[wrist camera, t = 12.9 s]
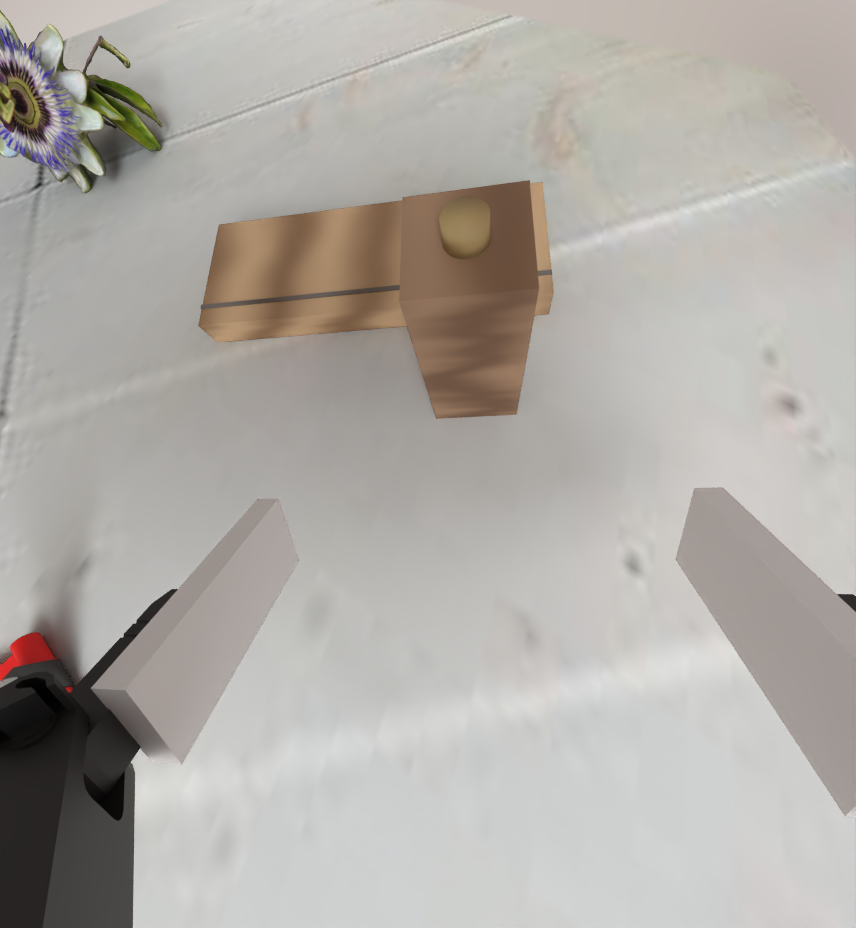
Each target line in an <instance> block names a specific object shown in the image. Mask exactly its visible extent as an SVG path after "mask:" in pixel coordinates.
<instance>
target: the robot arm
mask: <svg viewBox="0 0 856 928" xmlns="http://www.w3.org/2000/svg"><path fill="white" fill-rule="evenodd" d="M298 561H299V559H298V556H297V553H296V550H295V547H294V544H293V541H292V538H291V535H290V532H289V529H288V526H287V523H286V520H285V517H284V514H283V511H282V508H281V505H280V502H279V499H257V501H256V502H255V503H254V504H253V505H252V506H251V507H250V508H249V510H248V511H247V512H246V513H245V514H244V515H243V516H242V518H241V519H240V520H239V521H238V522H237V523H236V524H235V525H234V527H233V528H232V529H231V530H230V531H229V532H228V533H227V535H226V536H225V537H224V538H223V539H222V540H221V541H220V542H219V544H218V545H217V546H216V547H215V548H214V549H213V550H212V552H211V553H210V554H209V555H208V556H207V557H206V558H205V559H204V561H203V562H202V563H201V564H200V565H199V566H198V567H197V568H196V570H195V571H194V572H193V573H192V574H191V575H190V576H189V578H188V579H187V580H186V581H185V582H184V583H183V584H182V585H181V587H180V588H179V589H172V590H170V591H169V592H167V593H166V594H165V595H163V596H162V597H160V598H159V599H158V600H156V601H155V602H154V603H152V604H151V605H150V606H149V607H148V609H147V610H146V611H145V612H144V613H143V614H142V615H141V616H140V617H139V618H138V619H137V623H136V624H133V625H132V626H131V627H130V628H129V629H128V630H127V631H126V632H125V633H124V637H123V638H120V639H119V640H118V641H117V642H116V643H115V644H114V645H113V646H112V648H111V649H110V650H109V651H108V652H107V653H106V654H105V655H104V656H103V657H102V658H101V660H100V661H99V662H98V663H97V664H96V665H95V666H94V667H93V668H92V669H91V670H90V671H89V673H88V674H87V675H86V676H85V677H84V678H83V679H82V680H81V681H80V682H79V683H78V684H77V686H76V687H75V688H74V689H73V690H72V691H71V692H70V693H69V692H68V691H67V690H66V689H65V688H64V686H63V685H62V684H61V683H60V682H59V681H58V680H57V678H56V677H55V676H54V675H52V674H50V673H49V672H34V673H31V674H28V675H25V676H23V677H20V678H17V679H16V680H14V681H12V682H10V683H8V684H6V685H5V686H3V687H1V688H0V928H133V870H134V802H135V772H134V768H133V765H132V764H131V761H132V759H133V758H134V756H135V755H136V753H137V752H138V750H139V749H140V748H141V750H142V751H143V752H144V753H145V754H146V756H147V757H148V758H149V759H150V761H151V762H160V763H172V764H182V763H183V761H184V760H185V758H186V756H187V755H188V753H189V751H190V749H191V748H192V746H193V744H194V742H195V741H196V739H197V737H198V735H199V734H200V732H201V730H202V728H203V727H204V725H205V723H206V721H207V720H208V718H209V716H210V714H211V713H212V711H213V709H214V707H215V706H216V704H217V702H218V700H219V699H220V697H221V695H222V693H223V692H224V690H225V688H226V686H227V685H228V683H229V681H230V679H231V678H232V676H233V674H234V672H235V671H236V669H237V667H238V665H239V664H240V662H241V660H242V659H243V657H244V655H245V653H246V652H247V650H248V648H249V646H250V645H251V643H252V641H253V639H254V638H255V636H256V634H257V632H258V631H259V629H260V627H261V625H262V624H263V622H264V620H265V618H266V617H267V615H268V613H269V611H270V610H271V608H272V606H273V604H274V603H275V601H276V599H277V597H278V596H279V594H280V592H281V590H282V589H283V587H284V585H285V583H286V582H287V580H288V578H289V576H290V575H291V573H292V571H293V569H294V568H295V566H296V564H297V562H298ZM676 561H677V562H678V564H679V566H680V567H681V569H682V570H683V572H684V573H685V575H686V576H687V578H688V579H689V581H690V582H691V584H692V585H693V587H694V588H695V590H696V591H697V593H698V594H699V596H700V597H701V599H702V600H703V602H704V603H705V605H706V606H707V608H708V609H709V611H710V612H711V614H712V615H713V617H714V619H715V620H716V622H717V623H718V625H719V626H720V628H721V629H722V631H723V632H724V634H725V635H726V637H727V638H728V640H729V641H730V643H731V644H732V646H733V647H734V649H735V650H736V652H737V653H738V655H739V656H740V658H741V659H742V661H743V662H744V664H745V665H746V667H747V669H748V670H749V672H750V673H751V675H752V676H753V678H754V679H755V681H756V682H757V684H758V685H759V687H760V688H761V690H762V691H763V693H764V694H765V696H766V697H767V699H768V700H769V702H770V703H771V705H772V706H773V708H774V709H775V711H776V712H777V714H778V715H779V717H780V719H781V720H782V722H783V723H784V725H785V726H786V728H787V729H788V731H789V732H790V734H791V735H792V737H793V738H794V740H795V741H796V743H797V744H798V746H799V747H800V749H801V750H802V752H803V753H804V755H805V756H806V758H807V759H808V761H809V762H810V764H811V765H812V767H813V769H814V770H815V772H816V773H817V775H818V776H819V778H820V779H821V781H822V782H823V784H824V785H825V787H826V788H827V790H828V791H829V793H830V794H831V796H832V797H833V799H834V800H835V802H836V803H837V805H838V806H839V808H840V809H841V811H842V812H843V814H844V815H845V817H856V596H855V595H853V594H836V593H835V592H834V591H833V590H832V589H830V588H829V587H828V586H827V585H826V584H825V583H824V582H823V581H822V580H821V579H820V578H819V577H818V576H817V575H816V574H815V573H813V572H812V571H811V570H810V569H809V568H808V567H807V566H806V565H805V564H804V563H803V562H802V561H801V560H800V559H799V558H797V557H796V556H795V555H794V554H793V553H792V552H791V551H790V550H789V549H788V548H787V547H786V546H785V545H784V544H783V543H781V542H780V541H779V540H778V539H777V538H776V537H775V536H774V535H773V534H772V533H771V532H770V531H769V530H768V529H767V528H765V527H764V526H763V525H762V524H761V523H760V522H759V521H758V520H757V519H756V518H755V517H754V516H753V515H752V514H751V513H749V512H748V511H747V510H746V509H745V508H744V507H743V506H742V505H741V504H740V503H739V502H738V501H737V500H736V499H735V498H733V497H732V496H731V495H730V494H729V493H728V492H727V491H726V490H725V489H724V488H694V492H693V496H692V499H691V503H690V507H689V511H688V514H687V518H686V522H685V526H684V530H683V533H682V537H681V541H680V545H679V548H678V552H677V556H676Z"/></svg>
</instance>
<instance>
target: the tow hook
mask: <svg viewBox="0 0 856 928" xmlns="http://www.w3.org/2000/svg"><path fill="white" fill-rule="evenodd" d="M10 650H11V652H12V653H13V654H12V655H11V656H10V657H9V658H8V659H7V661H6V662H5V663H0V688H1V687H3V686H5V685H6V684H8V683H10V682H12V681H14V680H16V679H17V678H20V677H23V676H25V675H28V674H31V673H34V672H49V673H50V674H52V675H54V676H55V677H56V678H57V680H58V681H59V682H60V683H61V684H62V685H63V686H64V688H65V689H66V690H67V691H68V692H69V693H70V692H71V691H72V690H73V688H74V685H73V683H72V681H71V680H70V678H69V676H68V675H67V673H66V671H65V669H64V668H63V666H62V664H61V663H60V661H59V660H57V659H55V658H54V656H53V654H52V653H51V651H50V649H49V647H48V646H47V644H46V642H45V641H44V639H43V637H42V636H41V634H40V633H37V632H36V633H30V634H27V635H25V636H22V637H21V638H19V639H17V640H16V641H15V642H13V643H12V645H11V646H10Z"/></svg>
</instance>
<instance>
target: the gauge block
mask: <svg viewBox="0 0 856 928" xmlns="http://www.w3.org/2000/svg"><path fill="white" fill-rule="evenodd" d="M538 292H539V280H538V269H537V257H536V246H535V235H534V224H533V213H532V201H531V190H530V180H529V181H522V182H514V183H507V184H499V185H492V186H485V187H477V188H470V189H462V190H455V191H447V192H440V193H432V194H425V195H417V196H410V197H403V201H402V231H401V262H400V292H399V303H400V306H401V309H402V312H403V315H404V318H405V321H406V325H407V328H408V331H409V334H410V337H411V340H412V344H413V347H414V350H415V353H416V356H417V359H418V362H419V366H420V369H421V372H422V375H423V378H424V381H425V384H426V388H427V391H428V394H429V397H430V400H431V403H432V406H433V410H434V413H435V416H436V419H438V418H457V417H477V416H496V415H516V414H517V408H518V403H519V397H520V392H521V386H522V381H523V375H524V370H525V364H526V359H527V353H528V348H529V342H530V336H531V331H532V325H533V320H534V314H535V309H536V303H537V298H538Z"/></svg>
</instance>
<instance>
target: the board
mask: <svg viewBox="0 0 856 928" xmlns="http://www.w3.org/2000/svg"><path fill="white" fill-rule="evenodd" d="M530 190H531V201H532V213H533V224H534V235H535V246H536V257H537V269H538V280H539V292H538V298H537V303H536V309H535V314H534V315H542V314H549V310H550V306H551V302H552V297H553V293H554V292H553V282H552V270H551V263H550V253H549V243H548V233H547V223H546V213H545V203H544V193H543V183H542V182H538V183H530ZM402 201H403V200H402ZM402 201H395V202H387V203H379V204H372V205H364V206H357V207H349V208H342V209H334V210H327V211H319V212H311V213H304V214H296V215H289V216H281V217H274V218H266V219H259V220H251V221H244V222H236V223H228V224H221V225H219V227H218V232H217V237H216V242H215V247H214V252H213V257H212V262H211V266H210V271H209V276H208V281H207V286H206V291H205V296H204V301H203V305H201V309H202V311H201V316H200V321H199V327H200V328H202V329H203V330H204V331H205V332H206V333H207V334H208V335H210V336H211V337H212V338H213V339H214V340H215V341H216V342H227V341H239V340H250V339H262V338H274V337H285V336H297V335H309V334H320V333H332V332H344V331H355V330H367V329H379V328H390V327H402V326H407V325H406V321H405V318H404V315H403V312H402V309H401V306H400V303H399V292H400V262H401V231H402Z"/></svg>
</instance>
